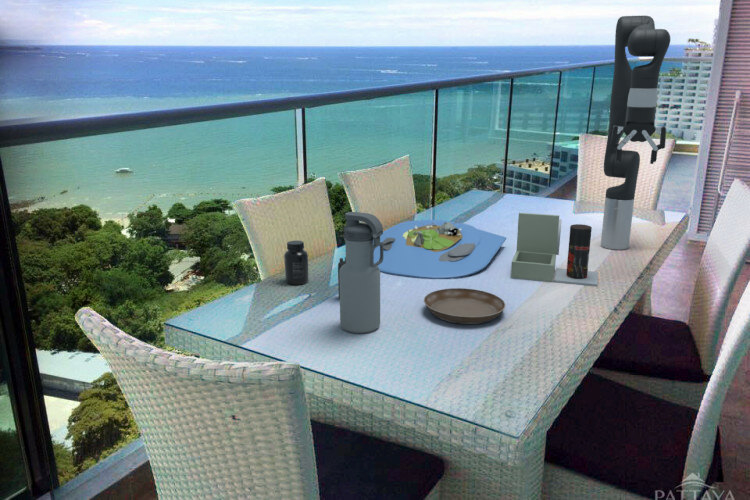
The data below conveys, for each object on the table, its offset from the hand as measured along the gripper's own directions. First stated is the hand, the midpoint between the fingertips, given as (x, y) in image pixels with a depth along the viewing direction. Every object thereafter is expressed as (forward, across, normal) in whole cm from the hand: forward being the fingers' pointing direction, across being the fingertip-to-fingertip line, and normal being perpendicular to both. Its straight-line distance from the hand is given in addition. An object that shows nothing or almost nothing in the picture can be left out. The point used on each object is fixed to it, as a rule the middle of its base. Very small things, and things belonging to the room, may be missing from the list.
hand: (635, 163), depth 181 cm
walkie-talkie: (+33, +71, +45) cm, 91 cm away
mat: (+34, +13, +7) cm, 37 cm away
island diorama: (+34, +60, 0) cm, 69 cm away
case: (+34, +26, +7) cm, 43 cm away
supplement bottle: (+33, +90, +37) cm, 103 cm away
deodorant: (+33, +13, +7) cm, 37 cm away
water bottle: (+33, +61, +62) cm, 93 cm away
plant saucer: (+34, +39, +44) cm, 68 cm away
